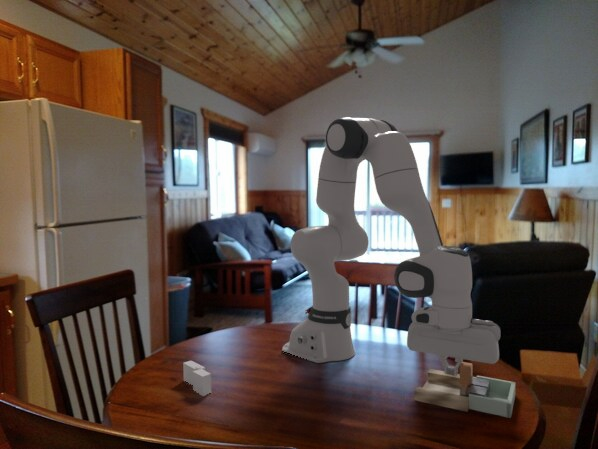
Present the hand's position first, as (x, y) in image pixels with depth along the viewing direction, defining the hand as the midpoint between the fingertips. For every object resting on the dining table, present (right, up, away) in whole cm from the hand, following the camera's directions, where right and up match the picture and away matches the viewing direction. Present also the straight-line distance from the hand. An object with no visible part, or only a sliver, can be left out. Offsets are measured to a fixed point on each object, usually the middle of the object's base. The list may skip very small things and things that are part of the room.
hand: (451, 374), depth 102 cm
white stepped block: (-62, -7, +8) cm, 62 cm away
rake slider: (+3, -4, -1) cm, 5 cm away
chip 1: (+4, -5, -5) cm, 8 cm away
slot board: (-1, -6, +1) cm, 6 cm away
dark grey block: (+6, -5, -1) cm, 8 cm away
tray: (+8, -6, -4) cm, 10 cm away
